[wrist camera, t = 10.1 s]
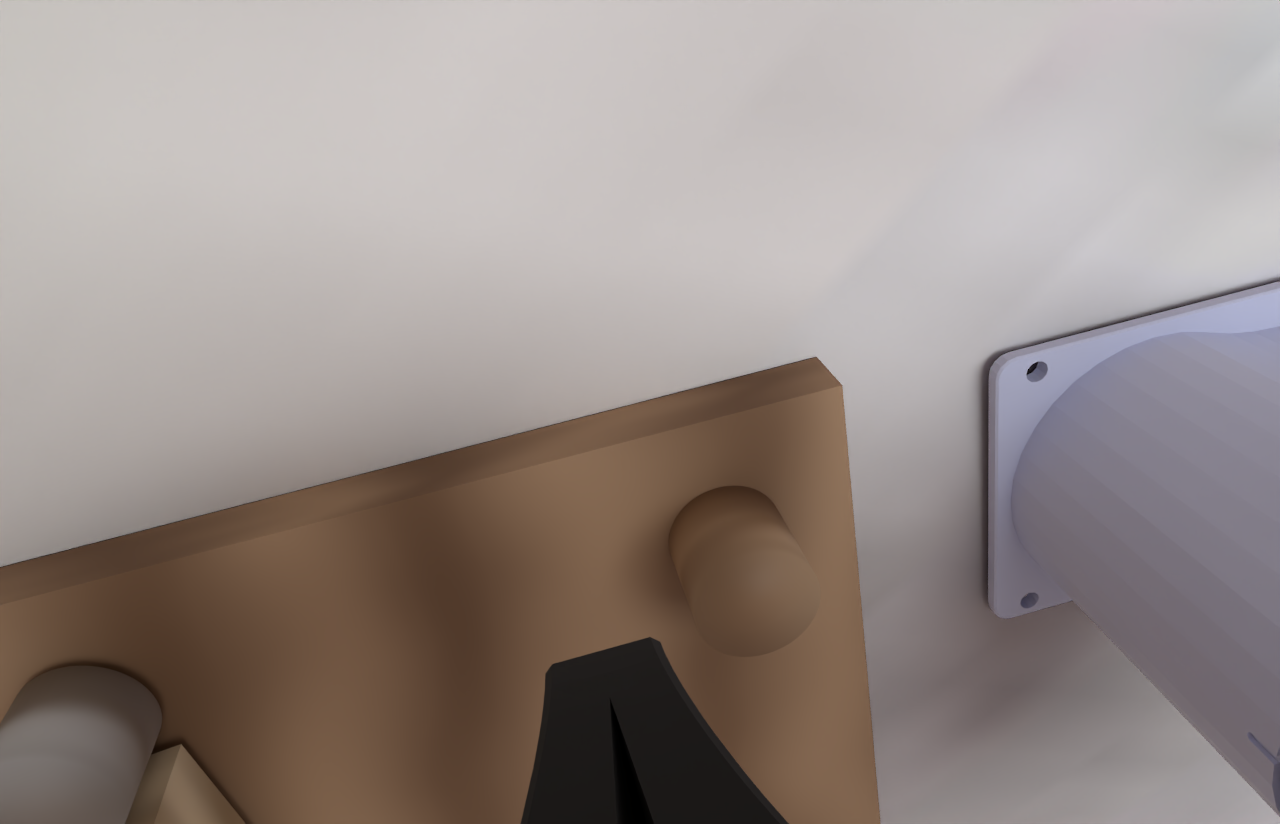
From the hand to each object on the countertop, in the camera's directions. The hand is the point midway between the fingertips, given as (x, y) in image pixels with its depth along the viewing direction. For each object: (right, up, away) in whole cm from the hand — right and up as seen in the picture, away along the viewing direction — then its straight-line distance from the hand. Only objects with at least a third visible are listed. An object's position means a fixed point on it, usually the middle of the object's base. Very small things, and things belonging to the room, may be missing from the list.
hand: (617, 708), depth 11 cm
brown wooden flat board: (-4, -6, +13) cm, 15 cm away
